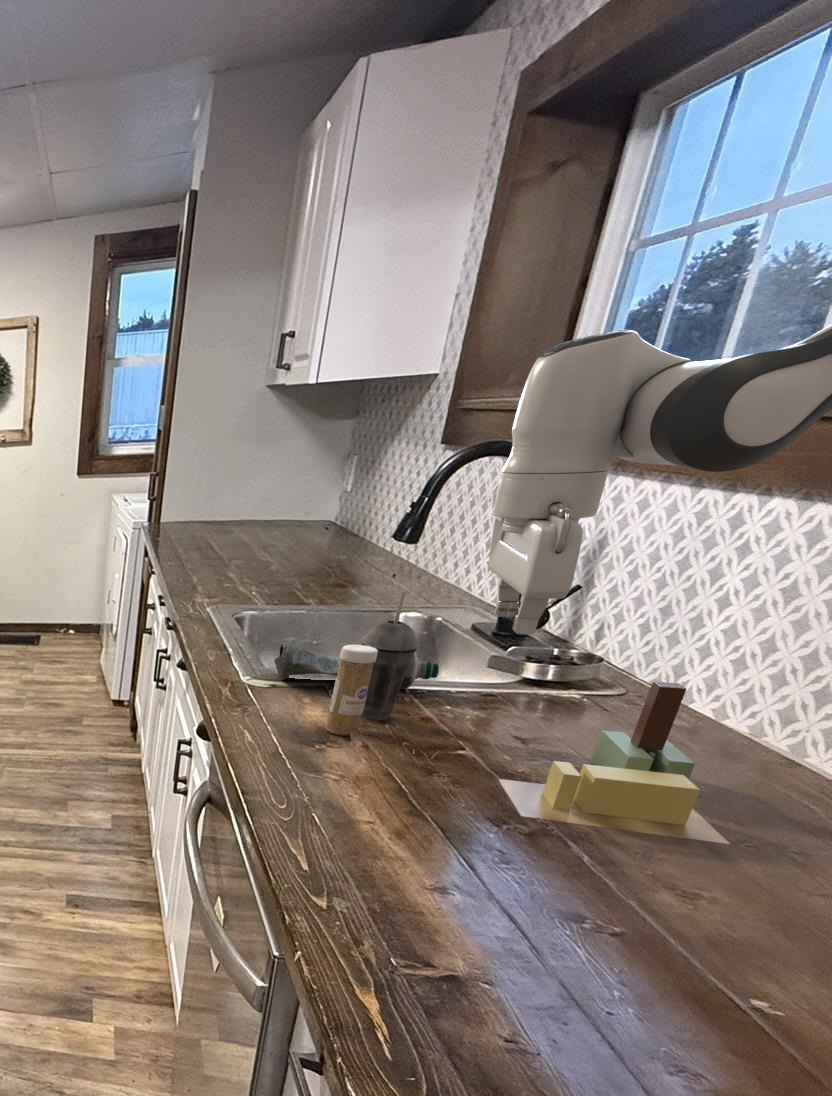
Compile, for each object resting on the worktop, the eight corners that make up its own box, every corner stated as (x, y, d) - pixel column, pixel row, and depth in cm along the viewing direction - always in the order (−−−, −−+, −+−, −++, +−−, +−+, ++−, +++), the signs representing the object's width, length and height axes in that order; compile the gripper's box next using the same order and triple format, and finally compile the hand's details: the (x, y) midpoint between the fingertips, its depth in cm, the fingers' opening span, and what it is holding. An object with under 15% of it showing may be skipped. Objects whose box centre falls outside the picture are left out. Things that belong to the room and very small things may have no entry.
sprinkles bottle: (348, 738, 125) (368, 652, 120) (318, 730, 129) (336, 646, 123) (364, 732, 127) (384, 647, 122) (334, 724, 131) (352, 642, 126)
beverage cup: (340, 716, 134) (367, 594, 126) (353, 705, 139) (380, 586, 131) (392, 726, 129) (424, 599, 121) (404, 714, 134) (435, 591, 126)
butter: (669, 809, 97) (683, 774, 95) (685, 825, 93) (700, 789, 91) (571, 797, 101) (583, 763, 99) (582, 812, 97) (595, 777, 95)
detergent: (269, 685, 150) (438, 699, 138) (276, 646, 148) (448, 657, 136) (272, 672, 161) (429, 684, 148) (278, 636, 158) (438, 645, 146)
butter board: (680, 812, 99) (685, 800, 99) (725, 856, 90) (731, 844, 89) (494, 789, 107) (497, 778, 106) (517, 827, 97) (521, 816, 97)
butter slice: (558, 796, 101) (570, 762, 99) (569, 810, 97) (581, 776, 96) (541, 794, 102) (553, 760, 100) (552, 808, 98) (564, 774, 96)
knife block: (645, 778, 108) (662, 735, 106) (677, 808, 100) (695, 763, 98) (586, 771, 111) (601, 730, 109) (612, 800, 103) (629, 756, 100)
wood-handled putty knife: (635, 782, 107) (674, 680, 102) (649, 797, 103) (691, 691, 98) (611, 779, 108) (648, 678, 103) (624, 794, 104) (664, 689, 99)
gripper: (614, 507, 80) (574, 646, 85) (559, 491, 97) (527, 608, 102) (531, 508, 83) (497, 642, 88) (491, 493, 100) (464, 606, 105)
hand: (513, 624), depth 95 cm, fingers open, 8 cm apart
